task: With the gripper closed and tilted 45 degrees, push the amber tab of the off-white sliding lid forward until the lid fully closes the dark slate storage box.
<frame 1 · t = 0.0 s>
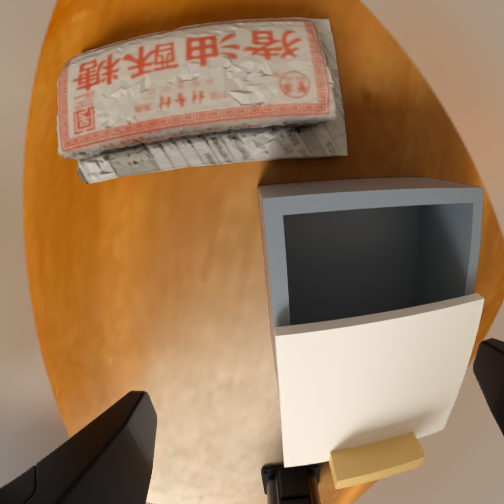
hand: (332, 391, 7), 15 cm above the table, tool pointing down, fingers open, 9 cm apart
storage box: (349, 257, 21), on the table
packaged product: (202, 94, 19), on the table
lid: (388, 408, 14), point 9 cm above the table, slide at 6.0 cm
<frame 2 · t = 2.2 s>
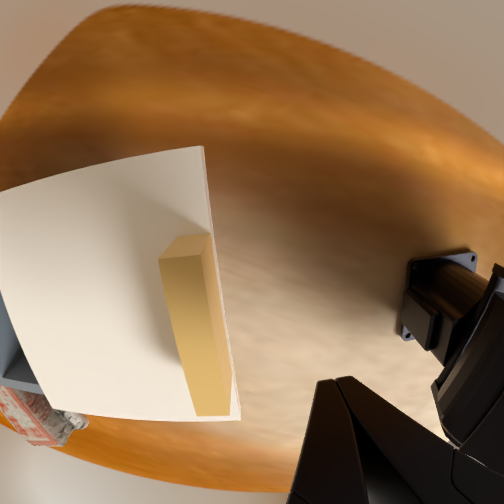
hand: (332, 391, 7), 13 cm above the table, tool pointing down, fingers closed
storage box: (72, 266, 19), on the table
packaged product: (15, 355, 23), on the table
lid: (85, 328, 11), point 9 cm above the table, slide at 6.0 cm
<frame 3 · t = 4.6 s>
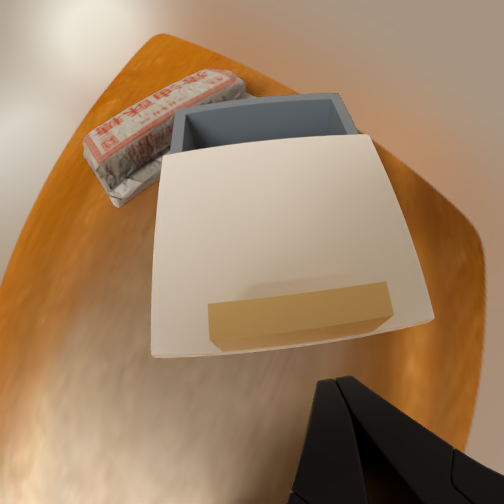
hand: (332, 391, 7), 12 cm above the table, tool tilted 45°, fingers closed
storage box: (270, 213, 24), on the table
packaged product: (175, 137, 30), on the table
lid: (282, 211, 13), point 9 cm above the table, slide at 6.0 cm
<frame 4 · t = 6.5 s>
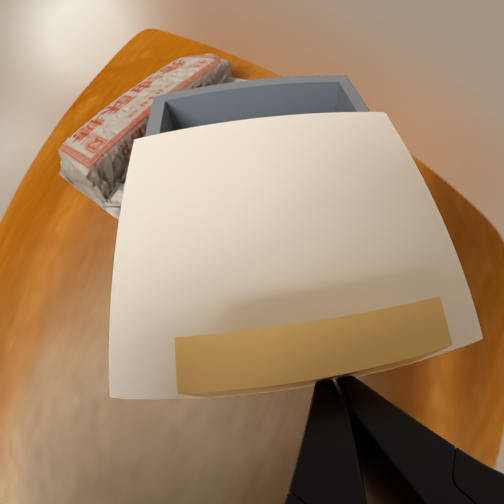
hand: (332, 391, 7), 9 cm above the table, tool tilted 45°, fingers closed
storage box: (268, 218, 20), on the table
packaged product: (161, 133, 26), on the table
lid: (284, 201, 10), point 9 cm above the table, slide at 5.4 cm, touching gripper
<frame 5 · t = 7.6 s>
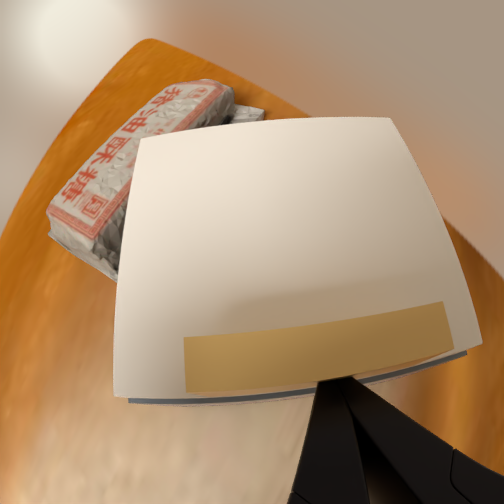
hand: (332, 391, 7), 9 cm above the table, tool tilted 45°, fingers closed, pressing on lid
storage box: (283, 302, 18), on the table
packaged product: (161, 177, 24), on the table
lid: (291, 204, 10), point 9 cm above the table, slide at -0.2 cm, touching gripper
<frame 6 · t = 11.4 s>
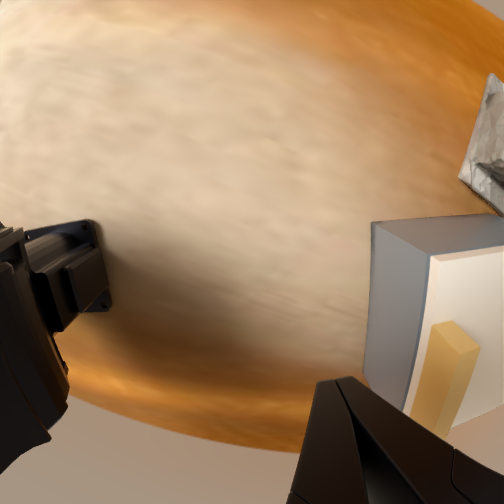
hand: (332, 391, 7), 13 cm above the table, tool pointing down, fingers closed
storage box: (432, 295, 21), on the table
lid: (503, 358, 12), point 9 cm above the table, slide at 0.0 cm
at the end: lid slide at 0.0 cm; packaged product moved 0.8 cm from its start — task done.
